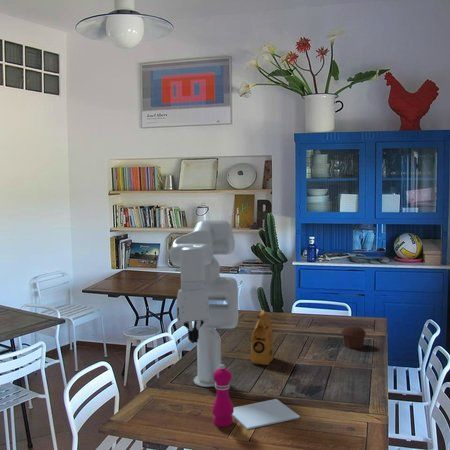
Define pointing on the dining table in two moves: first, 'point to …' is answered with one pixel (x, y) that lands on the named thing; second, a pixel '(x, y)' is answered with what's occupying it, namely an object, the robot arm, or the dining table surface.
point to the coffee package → (262, 341)
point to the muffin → (353, 336)
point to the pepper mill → (222, 398)
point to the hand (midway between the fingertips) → (193, 341)
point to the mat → (263, 414)
